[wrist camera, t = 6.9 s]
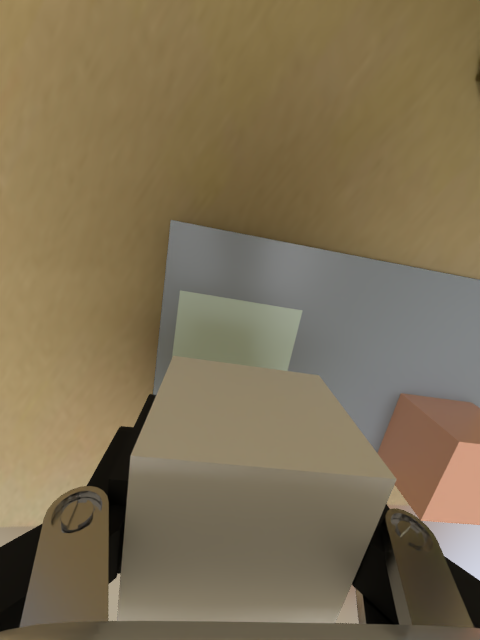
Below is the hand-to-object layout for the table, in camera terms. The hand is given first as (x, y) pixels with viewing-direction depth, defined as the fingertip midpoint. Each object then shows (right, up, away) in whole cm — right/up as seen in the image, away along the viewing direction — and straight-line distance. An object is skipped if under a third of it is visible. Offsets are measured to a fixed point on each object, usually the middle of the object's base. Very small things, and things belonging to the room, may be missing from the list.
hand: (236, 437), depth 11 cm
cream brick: (0, 0, +1) cm, 1 cm away
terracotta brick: (+15, -4, +10) cm, 18 cm away
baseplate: (+7, +1, +9) cm, 11 cm away
